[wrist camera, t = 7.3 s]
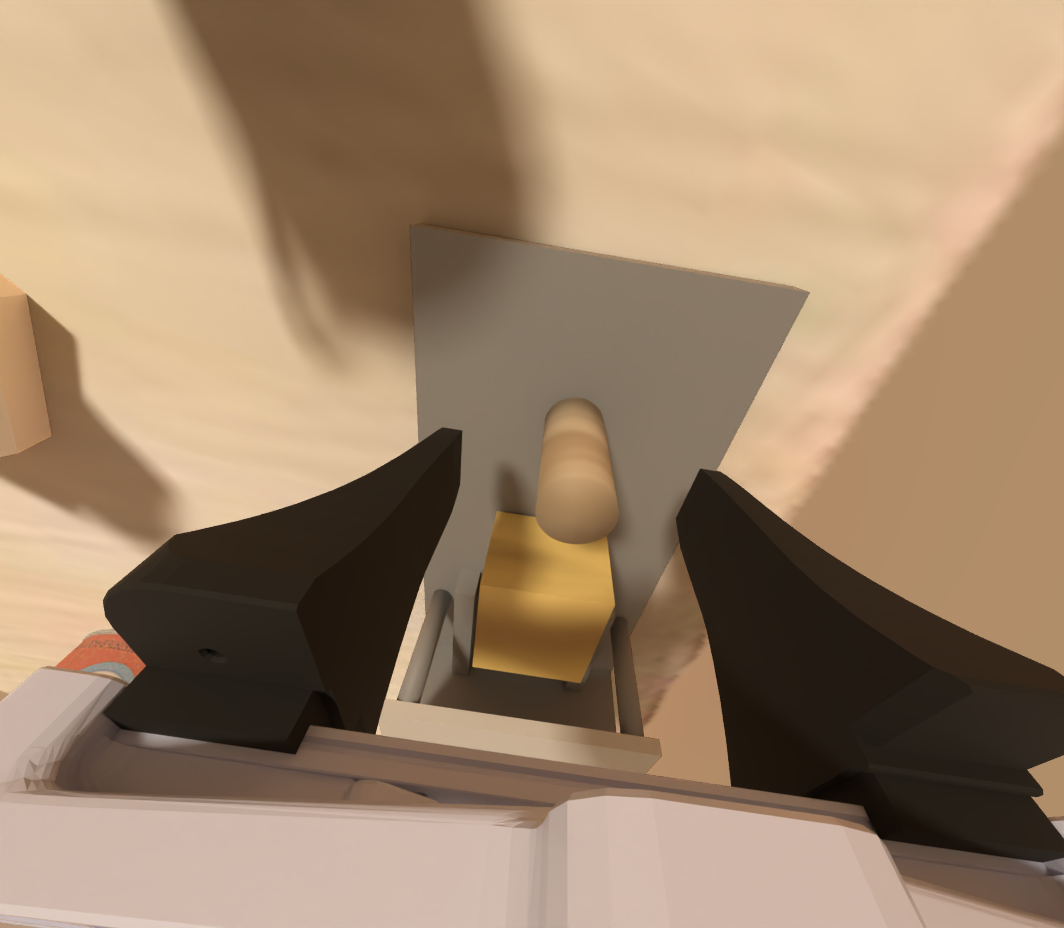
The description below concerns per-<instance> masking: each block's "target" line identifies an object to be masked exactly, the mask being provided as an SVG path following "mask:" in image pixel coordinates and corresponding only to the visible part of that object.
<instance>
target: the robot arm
mask: <svg viewBox="0 0 1064 928" xmlns="http://www.w3.org/2000/svg"><path fill="white" fill-rule="evenodd" d="M461 454H462V430H457V429H451V428H444V427H442V428H440V429H439V430H437V431H436V432H434V433H433V434H431V435H430V436H428V437H427V438H425V439H424V440H422V441H421V442H420V443H418V444H417V445H415V446H414V447H412V448H411V449H409V450H408V451H406V452H405V453H403V454H401V455H400V456H398V457H397V458H395V459H393V460H391V461H390V462H388V463H386V464H385V465H383V466H381V467H379V468H378V469H376V470H374V471H372V472H371V473H369V474H367V475H365V476H363V477H361V478H359V479H357V480H354V481H352V482H350V483H348V484H346V485H344V486H341V487H339V488H337V489H334V490H332V491H329V492H327V493H324V494H321V495H319V496H316V497H313V498H311V499H308V500H305V501H303V502H300V503H297V504H294V505H291V506H288V507H285V508H282V509H279V510H275V511H272V512H269V513H265V514H262V515H258V516H254V517H251V518H247V519H243V520H239V521H236V522H231V523H227V524H222V525H218V526H214V527H209V528H205V529H200V530H196V531H191V532H187V533H182V534H177V535H174V536H173V537H172V538H171V539H170V540H168V541H167V542H166V543H165V544H163V545H162V546H161V547H160V548H159V549H157V550H156V551H155V552H154V553H153V554H152V555H150V556H149V557H148V558H147V559H146V560H144V561H143V562H142V563H141V564H140V565H138V566H137V567H136V568H135V569H134V570H132V571H131V572H130V573H129V574H128V575H126V576H125V577H124V578H123V579H122V580H120V581H119V582H118V583H117V584H116V585H114V586H113V587H112V588H111V589H110V590H108V592H107V594H106V595H105V597H104V599H103V605H104V611H105V617H106V618H107V620H108V621H109V623H110V624H111V626H112V627H113V628H114V630H115V631H116V632H117V633H118V634H119V635H120V636H121V638H122V639H123V640H124V641H125V642H126V643H127V644H128V646H129V647H130V648H131V649H132V650H133V651H134V652H135V654H136V655H137V656H138V657H139V658H140V659H141V660H142V662H143V663H144V664H145V665H146V666H145V667H144V669H143V670H142V671H141V672H140V673H139V674H138V675H137V676H136V677H135V678H134V679H133V680H132V682H131V683H130V684H129V683H127V682H126V681H124V680H121V679H119V678H117V677H113V676H109V675H105V674H99V673H92V672H86V671H79V670H72V669H65V668H58V667H52V666H46V667H42V668H39V669H38V670H36V671H35V672H34V673H33V674H32V675H31V676H29V677H28V678H27V679H26V680H25V681H24V682H23V683H21V684H20V685H19V686H18V687H17V688H16V689H15V690H13V691H12V692H11V693H10V694H9V695H8V696H7V697H5V698H4V699H3V700H2V701H1V702H0V922H3V923H10V924H17V925H24V926H31V927H39V928H1064V816H1061V817H1049V818H1047V816H1046V815H1045V814H1044V813H1043V811H1042V810H1041V809H1040V808H1039V806H1038V805H1037V804H1036V802H1035V801H1034V800H1033V799H1032V797H1039V796H1042V795H1043V789H1042V788H1041V786H1040V785H1039V784H1038V783H1037V781H1036V780H1035V779H1034V778H1033V777H1032V775H1031V774H1030V773H1029V772H1028V770H1027V769H1029V768H1032V767H1035V766H1037V765H1040V764H1042V763H1045V762H1047V761H1050V760H1052V759H1055V758H1057V757H1060V756H1062V755H1064V676H1062V675H1061V674H1060V673H1058V672H1057V671H1055V670H1054V669H1052V668H1049V667H1047V666H1045V665H1042V664H1040V663H1038V662H1036V661H1034V660H1031V659H1029V658H1027V657H1024V656H1022V655H1020V654H1018V653H1016V652H1013V651H1011V650H1009V649H1007V648H1004V647H1002V646H1000V645H997V644H995V643H993V642H991V641H988V640H986V639H984V638H982V637H979V636H977V635H975V634H973V633H970V632H969V631H967V630H965V629H963V628H961V627H959V626H957V625H955V624H952V623H951V622H949V621H947V620H944V619H942V618H940V617H938V616H936V615H934V614H932V613H930V612H929V611H927V610H925V609H923V608H921V607H919V606H917V605H915V604H913V603H911V602H909V601H908V600H906V599H904V598H902V597H900V596H898V595H897V594H895V593H893V592H891V591H890V590H888V589H886V588H884V587H882V586H881V585H879V584H877V583H875V582H874V581H872V580H870V579H869V578H867V577H865V576H864V575H862V574H860V573H859V572H857V571H855V570H854V569H852V568H851V567H849V566H847V565H846V564H844V563H843V562H841V561H840V560H838V559H837V558H835V557H834V556H832V555H830V554H829V553H827V552H826V551H825V550H823V549H821V548H820V547H819V546H817V545H816V544H814V543H813V542H812V541H810V540H809V539H808V538H806V537H805V536H803V535H802V534H801V533H799V532H798V531H797V530H795V529H794V528H793V527H791V526H790V525H789V524H787V523H786V522H785V521H783V520H782V519H781V518H780V517H778V516H777V515H776V514H775V513H773V512H772V511H771V510H770V509H768V508H767V507H766V506H765V505H763V504H762V503H761V502H760V501H758V500H757V499H756V498H755V497H753V496H752V495H751V494H750V493H748V492H747V491H746V490H745V489H743V488H742V487H741V486H740V485H738V484H737V483H736V482H734V481H733V480H732V479H730V478H729V477H728V476H726V475H725V474H723V473H721V472H719V471H713V470H707V469H701V468H700V470H699V472H698V474H697V476H696V478H695V480H694V482H693V484H692V486H691V488H690V490H689V492H688V494H687V496H686V498H685V500H684V502H683V505H682V507H681V509H680V511H679V513H678V515H677V517H676V524H677V531H678V537H679V542H680V548H681V551H682V554H683V557H684V561H685V564H686V567H687V570H688V573H689V576H690V579H691V582H692V585H693V588H694V591H695V594H696V597H697V600H698V603H699V606H700V609H701V612H702V615H703V619H704V622H705V626H706V629H707V634H708V639H709V643H710V648H711V653H712V657H713V661H714V668H715V673H716V678H717V684H718V690H719V695H720V701H721V708H722V715H723V722H724V729H725V736H726V743H727V752H728V761H729V770H730V779H731V787H730V786H723V785H717V784H709V783H703V782H696V781H689V780H682V779H676V778H669V777H661V776H655V775H648V774H641V773H634V772H628V771H621V770H614V769H607V768H600V767H593V766H587V765H580V764H573V763H566V762H559V761H552V760H546V759H539V758H532V757H525V756H518V755H511V754H505V753H498V752H491V751H484V750H477V749H470V748H463V747H457V746H450V745H443V744H436V743H429V742H422V741H416V740H409V739H402V738H395V737H388V736H381V735H375V734H376V730H377V726H378V723H379V719H380V716H381V712H382V709H383V705H384V701H385V698H386V694H387V691H388V687H389V684H390V680H391V677H392V674H393V670H394V667H395V663H396V660H397V657H398V653H399V650H400V647H401V644H402V640H403V637H404V634H405V631H406V628H407V624H408V621H409V618H410V615H411V612H412V609H413V606H414V603H415V600H416V596H417V593H418V590H419V587H420V584H421V582H422V579H423V577H424V574H425V572H426V570H427V567H428V565H429V563H430V561H431V558H432V556H433V554H434V552H435V550H436V547H437V545H438V543H439V541H440V538H441V536H442V534H443V532H444V530H445V527H446V525H447V523H448V520H449V518H450V516H451V514H452V511H453V508H454V505H455V501H456V498H457V494H458V491H459V487H460V480H461ZM1031 796H1032V797H1031Z"/></svg>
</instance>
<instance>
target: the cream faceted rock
mask: <svg viewBox="0 0 1064 928" xmlns="http://www.w3.org/2000/svg"><path fill="white" fill-rule="evenodd" d="M51 436H52V435H51V430H50V424H49V418H48V413H47V407H46V401H45V396H44V390H43V385H42V379H41V373H40V368H39V362H38V356H37V351H36V345H35V340H34V334H33V328H32V323H31V317H30V311H29V306H28V300H27V295H26V293H25V292H23V291H22V290H21V289H20V288H18V287H17V286H16V285H15V284H13V283H12V282H11V281H9V280H8V279H7V278H6V277H4V276H3V275H2V274H1V273H0V457H4V456H8V455H13V454H17V453H20V452H22V451H24V450H26V449H27V448H29V447H31V446H33V445H35V444H37V443H39V442H41V441H43V440H45V439H47V438H49V437H51Z"/></svg>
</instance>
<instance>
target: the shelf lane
mask: <svg viewBox="0 0 1064 928" xmlns="http://www.w3.org/2000/svg"><path fill="white" fill-rule="evenodd" d="M410 244H411V269H412V293H413V318H414V342H415V367H416V391H417V415H418V440H419V443H420V442H421V441H422V440H424V439H425V438H427V437H428V436H430V435H431V434H433V433H434V432H436V431H437V430H439V429H440V428H442V427H444V428H451V429H457V430H462V454H461V480H460V487H459V491H458V494H457V498H456V501H455V505H454V508H453V511H452V514H451V516H450V518H449V520H448V523H447V525H446V527H445V530H444V532H443V534H442V536H441V538H440V541H439V543H438V545H437V547H436V550H435V552H434V554H433V556H432V558H431V561H430V563H429V565H428V567H427V570H426V572H425V574H424V586H425V611H426V617H425V620H424V622H423V625H422V628H421V631H420V634H419V637H418V640H417V643H416V646H415V649H414V651H413V654H412V657H411V660H410V663H409V666H408V669H407V672H406V675H405V678H404V680H403V683H402V686H401V689H400V692H399V695H398V698H397V700H391V699H385V701H384V705H383V709H382V712H381V716H380V719H379V725H380V730H381V734H382V736H388V737H395V738H402V739H409V740H416V741H422V742H429V743H436V744H443V745H450V746H457V747H463V748H470V749H477V750H484V751H491V752H498V753H505V754H511V755H518V756H525V757H532V758H539V759H546V760H552V761H559V762H566V763H573V764H580V765H587V766H593V767H600V768H607V769H614V770H621V771H628V772H634V773H641V774H646V773H647V772H648V771H649V769H650V768H651V767H652V766H653V765H654V764H655V763H656V762H657V761H658V760H659V759H660V758H661V756H662V754H661V748H660V742H659V739H654V738H647V737H644V733H643V726H642V719H641V712H640V705H639V698H638V691H637V684H636V677H635V671H634V664H633V657H632V650H631V643H630V635H631V633H632V631H633V629H634V627H635V625H636V623H637V621H638V619H639V617H640V616H641V614H642V612H643V610H644V608H645V606H646V604H647V602H648V600H649V598H650V596H651V595H652V593H653V591H654V589H655V587H656V585H657V583H658V581H659V579H660V577H661V576H662V574H663V572H664V570H665V568H666V566H667V564H668V562H669V560H670V558H671V556H672V555H673V553H674V551H675V549H676V547H677V545H678V543H679V537H678V531H677V524H676V517H677V515H678V513H679V511H680V509H681V507H682V505H683V502H684V500H685V498H686V496H687V494H688V492H689V490H690V488H691V486H692V484H693V482H694V480H695V478H696V476H697V474H698V472H699V470H700V468H701V469H707V470H713V471H717V469H718V467H719V465H720V463H721V461H722V459H723V457H724V455H725V453H726V452H727V450H728V448H729V446H730V444H731V442H732V440H733V438H734V436H735V434H736V432H737V431H738V429H739V427H740V425H741V423H742V421H743V419H744V417H745V415H746V413H747V411H748V410H749V408H750V406H751V404H752V402H753V400H754V398H755V396H756V394H757V392H758V391H759V389H760V387H761V385H762V383H763V381H764V379H765V377H766V375H767V373H768V371H769V370H770V368H771V366H772V364H773V362H774V360H775V358H776V356H777V354H778V352H779V350H780V349H781V347H782V345H783V343H784V341H785V339H786V337H787V335H788V333H789V331H790V329H791V328H792V326H793V324H794V322H795V320H796V318H797V316H798V314H799V312H800V310H801V308H802V307H803V305H804V303H805V301H806V299H807V297H808V295H809V293H810V292H807V291H805V290H802V289H799V288H796V287H793V286H787V285H782V284H776V283H770V282H764V281H758V280H752V279H746V278H740V277H734V276H728V275H722V274H716V273H710V272H705V271H699V270H693V269H687V268H681V267H675V266H669V265H663V264H657V263H651V262H645V261H639V260H633V259H628V258H622V257H616V256H610V255H604V254H598V253H592V252H586V251H580V250H574V249H568V248H562V247H557V246H551V245H545V244H539V243H533V242H527V241H521V240H515V239H509V238H503V237H497V236H491V235H485V234H480V233H474V232H468V231H462V230H456V229H450V228H444V227H438V226H432V225H426V224H413V225H410ZM567 398H582V399H586V400H588V401H590V402H592V403H593V404H595V405H596V406H597V407H598V408H599V410H600V411H601V413H602V416H603V420H604V426H605V432H606V438H607V443H608V449H609V455H610V461H611V467H612V473H613V479H614V485H615V491H616V496H617V502H618V508H619V518H618V522H617V524H616V526H615V527H614V529H613V530H612V531H611V532H610V533H609V534H608V535H607V541H608V550H609V558H610V566H611V575H612V583H613V591H614V600H615V607H614V609H613V611H612V613H611V616H610V618H609V620H608V622H607V625H606V627H605V629H604V631H603V634H602V636H601V638H600V640H599V643H598V645H597V647H596V649H595V652H594V654H593V656H592V658H591V661H590V663H589V665H588V667H587V670H586V672H585V674H584V676H583V679H582V681H581V683H577V682H570V681H563V680H557V679H550V678H543V677H537V676H530V675H523V674H517V673H510V672H503V671H497V670H490V669H483V668H477V667H472V665H473V655H474V644H475V633H476V623H477V612H478V602H479V591H480V583H481V578H482V574H483V570H484V565H485V561H486V557H487V552H488V548H489V544H490V539H491V535H492V531H493V526H494V522H495V517H496V513H497V511H500V512H507V513H513V514H519V515H526V516H532V517H536V515H535V511H536V501H537V492H538V482H539V472H540V463H541V453H542V443H543V434H544V424H545V418H546V415H547V413H548V411H549V410H550V408H551V407H552V406H553V405H555V404H556V403H557V402H559V401H561V400H564V399H567ZM613 667H614V673H615V683H616V693H617V703H618V713H619V722H620V732H621V733H616V725H615V714H614V703H613V693H612V682H611V671H612V669H613Z"/></svg>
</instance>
